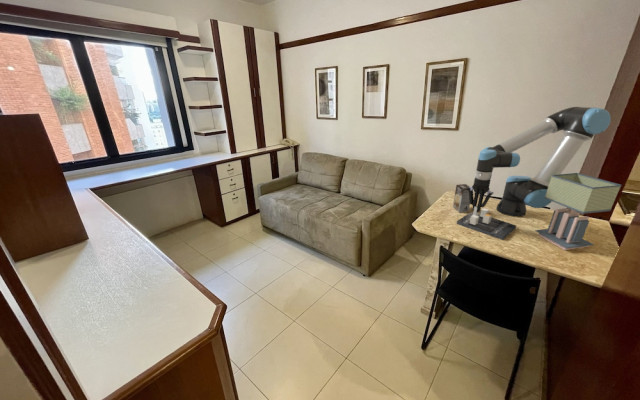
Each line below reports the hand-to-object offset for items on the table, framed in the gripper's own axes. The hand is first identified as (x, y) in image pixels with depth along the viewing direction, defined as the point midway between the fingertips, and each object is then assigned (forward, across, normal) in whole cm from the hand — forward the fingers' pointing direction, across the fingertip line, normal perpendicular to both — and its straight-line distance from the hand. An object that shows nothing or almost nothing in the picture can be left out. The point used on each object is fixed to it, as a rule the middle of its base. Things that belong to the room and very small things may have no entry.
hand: (474, 216), depth 149 cm
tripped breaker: (+1, +6, 0) cm, 7 cm away
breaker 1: (+1, +3, -6) cm, 7 cm away
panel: (+4, +6, 0) cm, 7 cm away
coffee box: (+4, -14, +12) cm, 19 cm away
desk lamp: (+4, +37, +11) cm, 39 cm away
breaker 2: (+1, +2, +7) cm, 7 cm away
